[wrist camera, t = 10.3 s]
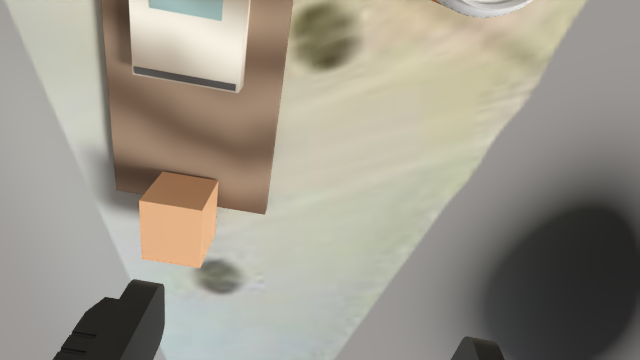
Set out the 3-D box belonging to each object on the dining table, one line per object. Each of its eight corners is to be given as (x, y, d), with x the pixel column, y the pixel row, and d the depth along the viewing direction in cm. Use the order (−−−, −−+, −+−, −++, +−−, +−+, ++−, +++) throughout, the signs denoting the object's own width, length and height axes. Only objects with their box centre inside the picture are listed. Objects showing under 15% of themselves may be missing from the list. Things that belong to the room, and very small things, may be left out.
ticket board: (89, -241, 25) (58, -266, 22) (317, -193, 25) (315, -211, 23) (121, 184, 39) (104, 201, 36) (266, 208, 40) (261, 227, 37)
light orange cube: (162, 171, 37) (138, 200, 32) (218, 180, 37) (202, 210, 32) (163, 225, 39) (141, 258, 35) (215, 233, 40) (199, 268, 35)
